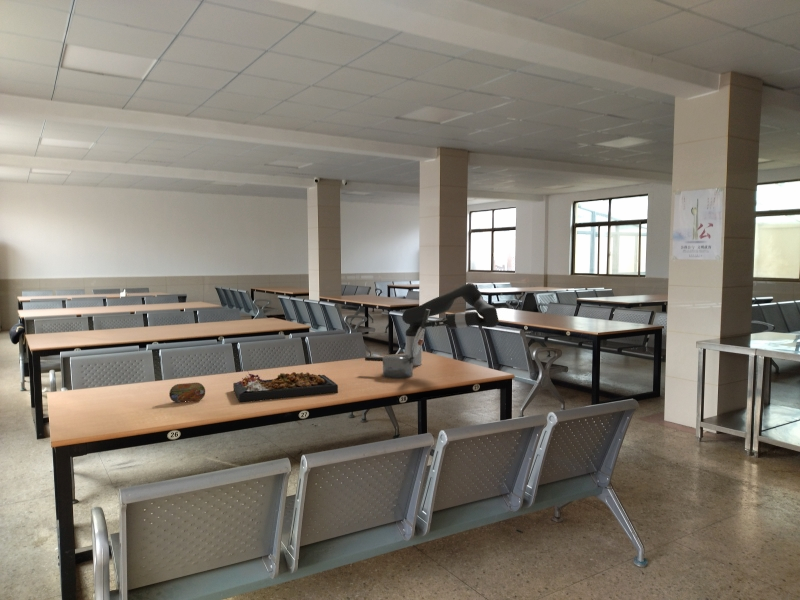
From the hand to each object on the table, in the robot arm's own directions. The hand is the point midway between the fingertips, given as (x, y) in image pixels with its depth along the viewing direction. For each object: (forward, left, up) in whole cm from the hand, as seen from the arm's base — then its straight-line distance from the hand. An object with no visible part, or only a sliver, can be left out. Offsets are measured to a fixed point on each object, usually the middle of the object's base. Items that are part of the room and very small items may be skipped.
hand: (426, 324), depth 292 cm
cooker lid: (-11, +4, -6) cm, 13 cm away
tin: (-46, -106, -30) cm, 119 cm away
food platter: (-31, -65, -30) cm, 78 cm away
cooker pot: (-25, -4, -29) cm, 38 cm away
